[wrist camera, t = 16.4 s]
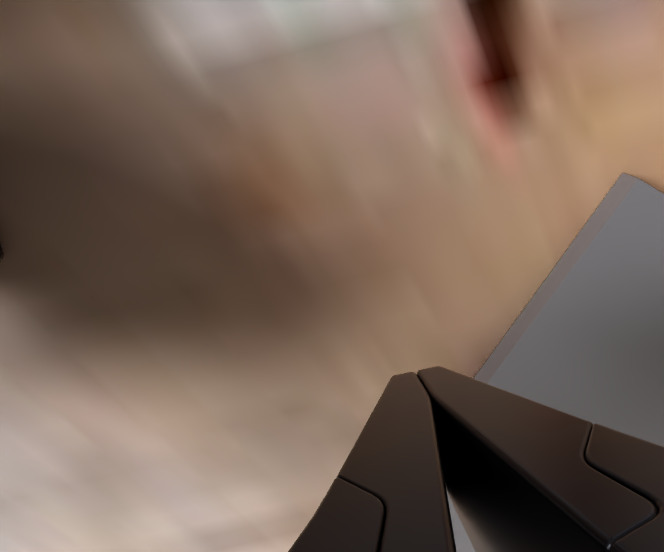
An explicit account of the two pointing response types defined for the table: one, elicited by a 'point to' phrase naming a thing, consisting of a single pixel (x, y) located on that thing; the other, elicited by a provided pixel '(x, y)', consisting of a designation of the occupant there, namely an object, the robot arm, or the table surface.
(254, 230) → the table surface
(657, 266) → the board
